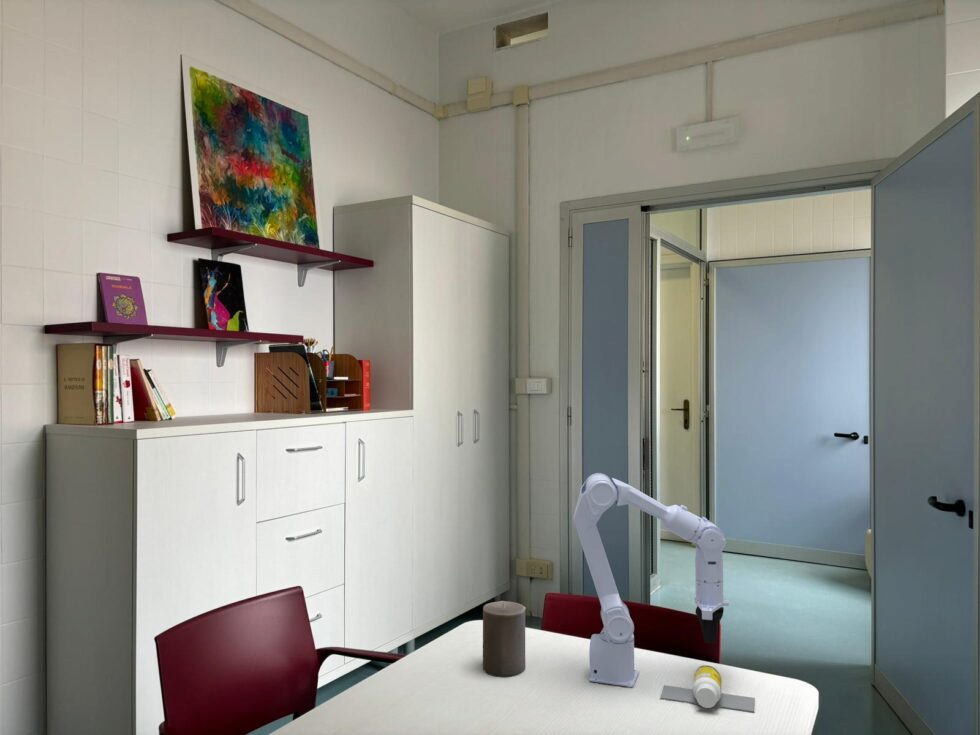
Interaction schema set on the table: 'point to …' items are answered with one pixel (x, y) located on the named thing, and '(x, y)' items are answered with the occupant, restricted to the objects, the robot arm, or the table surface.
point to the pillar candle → (504, 639)
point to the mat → (724, 702)
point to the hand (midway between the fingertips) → (710, 642)
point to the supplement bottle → (707, 686)
